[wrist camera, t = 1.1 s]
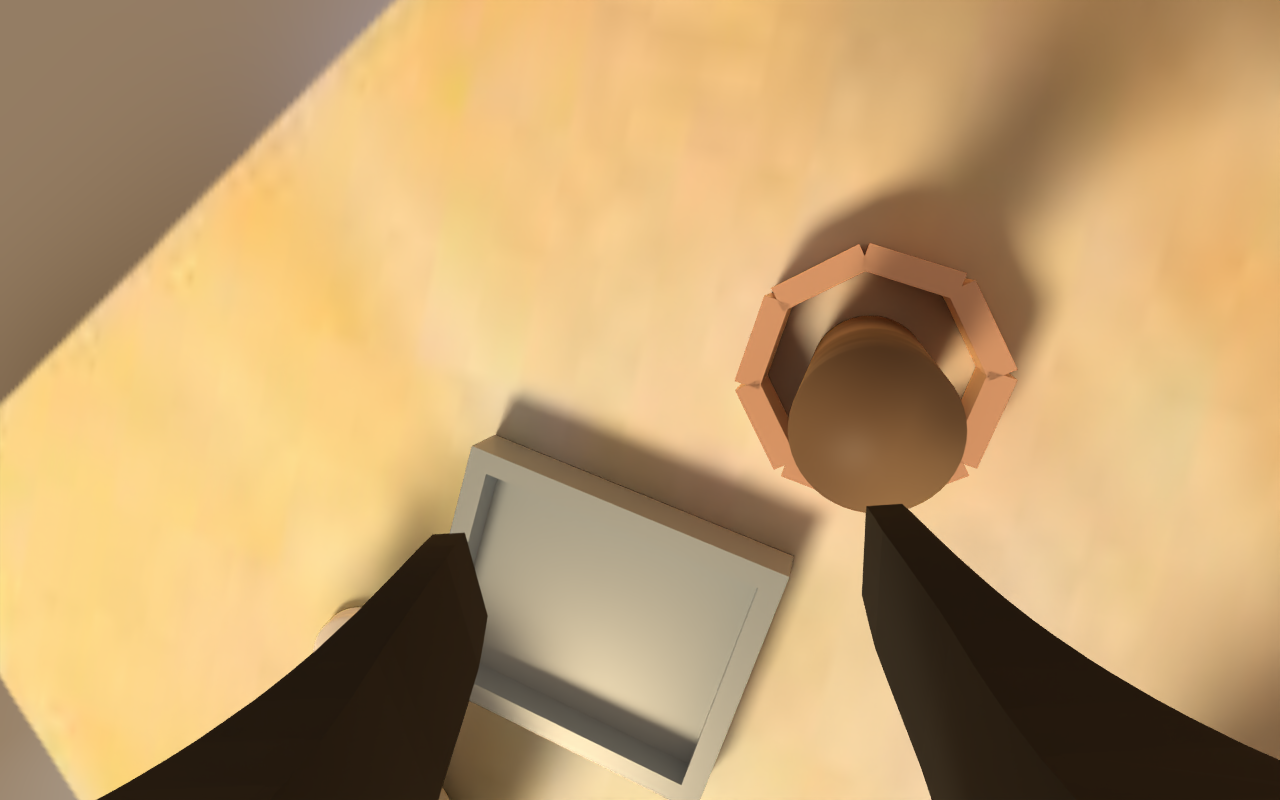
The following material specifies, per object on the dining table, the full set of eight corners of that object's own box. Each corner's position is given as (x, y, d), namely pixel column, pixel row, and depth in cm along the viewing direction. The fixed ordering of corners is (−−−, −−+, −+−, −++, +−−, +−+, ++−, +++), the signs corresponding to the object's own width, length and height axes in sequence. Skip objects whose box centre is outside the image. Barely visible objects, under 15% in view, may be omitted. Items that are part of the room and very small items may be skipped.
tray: (793, 556, 26) (789, 577, 24) (704, 779, 28) (695, 812, 27) (494, 434, 28) (471, 446, 26) (438, 650, 31) (414, 673, 29)
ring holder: (1037, 296, 22) (1054, 300, 20) (937, 517, 24) (944, 538, 22) (796, 222, 24) (791, 218, 22) (721, 435, 26) (710, 449, 24)
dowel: (944, 336, 23) (997, 381, 15) (901, 440, 24) (926, 539, 16) (834, 300, 24) (822, 323, 15) (795, 402, 25) (765, 476, 16)
